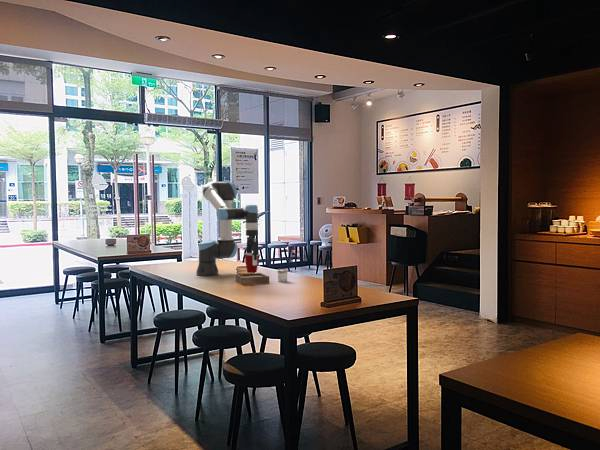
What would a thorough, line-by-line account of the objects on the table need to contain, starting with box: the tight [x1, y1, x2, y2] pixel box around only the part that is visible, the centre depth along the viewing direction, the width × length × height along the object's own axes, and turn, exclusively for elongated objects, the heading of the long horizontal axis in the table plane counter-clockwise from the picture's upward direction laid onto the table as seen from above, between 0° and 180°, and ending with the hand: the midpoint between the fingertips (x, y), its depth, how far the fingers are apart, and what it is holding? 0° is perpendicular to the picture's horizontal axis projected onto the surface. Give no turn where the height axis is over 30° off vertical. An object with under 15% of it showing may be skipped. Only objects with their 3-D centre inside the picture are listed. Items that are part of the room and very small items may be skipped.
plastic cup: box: [243, 252, 261, 274], centre depth 322 cm, size 11×11×12 cm
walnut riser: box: [235, 272, 270, 286], centre depth 323 cm, size 17×17×4 cm
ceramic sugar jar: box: [277, 269, 288, 283], centre depth 326 cm, size 7×7×7 cm
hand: (252, 264), depth 322 cm, fingers closed on plastic cup, 11 cm apart
